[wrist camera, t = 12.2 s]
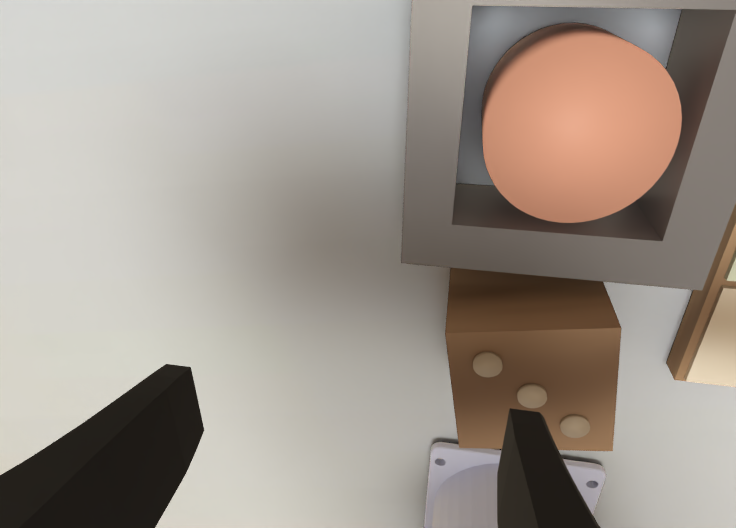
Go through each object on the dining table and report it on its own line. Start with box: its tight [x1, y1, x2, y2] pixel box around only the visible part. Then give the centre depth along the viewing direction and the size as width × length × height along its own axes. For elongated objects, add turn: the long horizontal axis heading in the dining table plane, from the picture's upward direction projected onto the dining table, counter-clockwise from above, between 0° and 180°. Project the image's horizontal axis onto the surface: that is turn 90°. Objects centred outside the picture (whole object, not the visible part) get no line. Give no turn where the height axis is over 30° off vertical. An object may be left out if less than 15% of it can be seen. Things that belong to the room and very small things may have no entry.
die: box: [445, 268, 621, 451], centre depth 19 cm, size 5×5×5 cm
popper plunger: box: [482, 23, 682, 223], centre depth 15 cm, size 5×5×4 cm
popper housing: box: [401, 0, 736, 290], centre depth 16 cm, size 9×9×4 cm
